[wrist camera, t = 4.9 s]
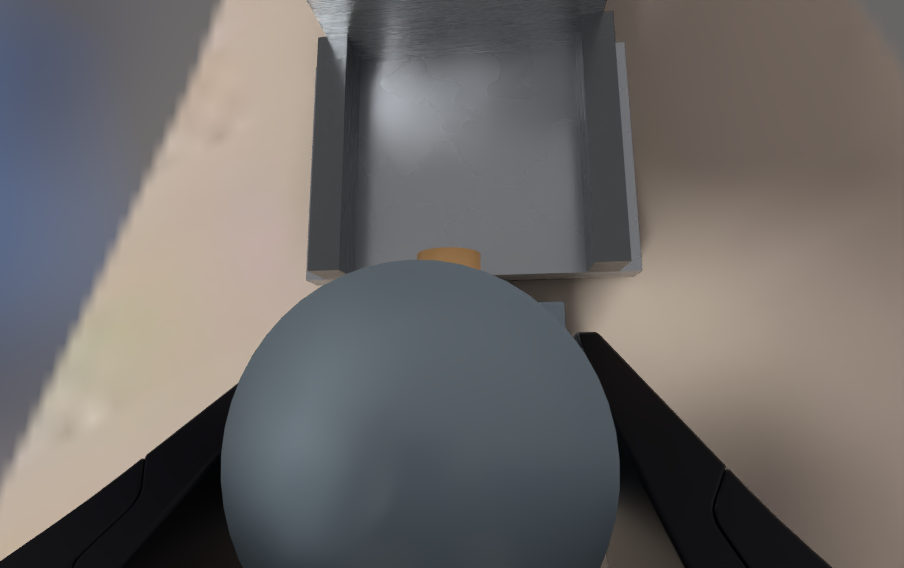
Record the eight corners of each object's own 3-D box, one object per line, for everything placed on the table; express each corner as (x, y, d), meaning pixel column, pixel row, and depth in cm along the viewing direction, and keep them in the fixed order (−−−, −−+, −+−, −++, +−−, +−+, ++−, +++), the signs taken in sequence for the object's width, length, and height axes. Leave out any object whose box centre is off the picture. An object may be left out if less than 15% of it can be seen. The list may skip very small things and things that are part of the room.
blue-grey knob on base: (567, 496, 15) (688, 759, 5) (381, 492, 15) (163, 714, 6) (558, 292, 16) (641, 176, 6) (385, 296, 16) (208, 198, 7)
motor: (633, 276, 16) (732, 207, 9) (317, 285, 17) (188, 230, 10) (605, -107, 18) (664, -391, 11) (333, -75, 19) (238, -313, 13)
